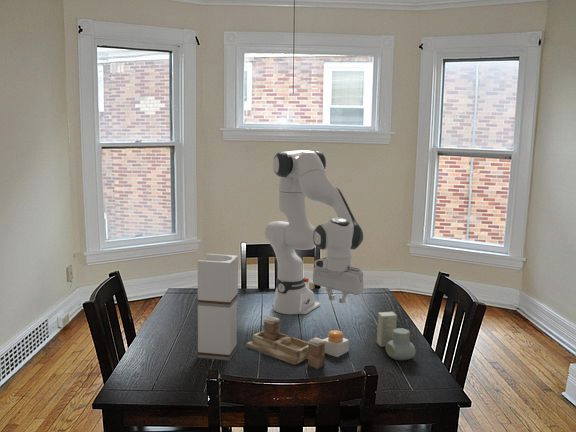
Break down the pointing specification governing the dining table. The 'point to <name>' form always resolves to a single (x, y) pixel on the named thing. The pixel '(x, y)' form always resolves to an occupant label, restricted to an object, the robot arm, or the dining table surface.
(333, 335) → the button
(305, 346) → the wooden compartment tray
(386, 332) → the skincare box
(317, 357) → the block
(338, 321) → the dining table surface
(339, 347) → the button housing
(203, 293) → the tall open-top box
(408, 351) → the air freshener
